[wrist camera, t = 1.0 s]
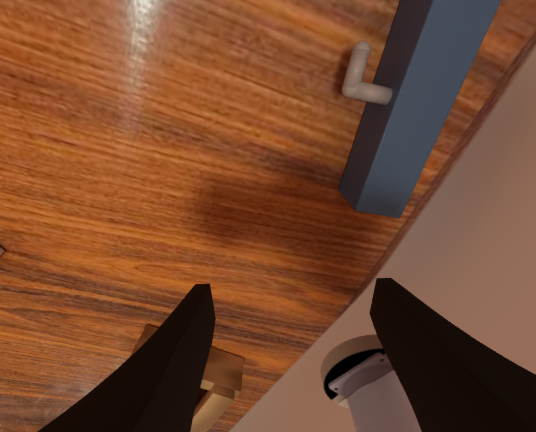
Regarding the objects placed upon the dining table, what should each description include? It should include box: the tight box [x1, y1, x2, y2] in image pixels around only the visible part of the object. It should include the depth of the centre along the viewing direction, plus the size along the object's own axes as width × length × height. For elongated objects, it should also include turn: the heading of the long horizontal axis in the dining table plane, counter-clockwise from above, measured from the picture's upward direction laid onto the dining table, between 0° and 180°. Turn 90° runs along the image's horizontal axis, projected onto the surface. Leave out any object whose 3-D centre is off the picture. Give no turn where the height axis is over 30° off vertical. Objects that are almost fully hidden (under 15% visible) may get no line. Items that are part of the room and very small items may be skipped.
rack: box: [130, 324, 244, 432], centre depth 25 cm, size 10×16×4 cm, turn 150°
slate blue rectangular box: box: [339, 0, 501, 218], centre depth 13 cm, size 5×12×4 cm, turn 169°
